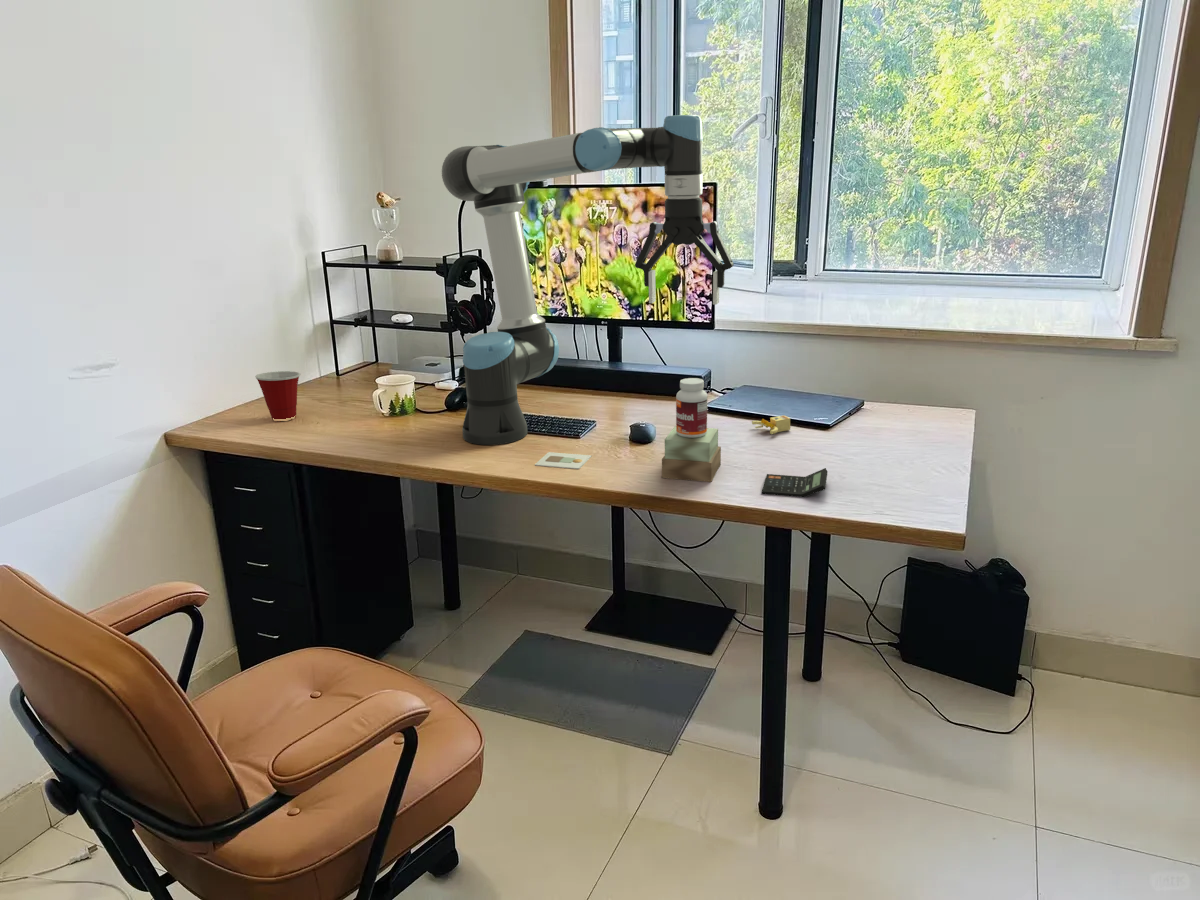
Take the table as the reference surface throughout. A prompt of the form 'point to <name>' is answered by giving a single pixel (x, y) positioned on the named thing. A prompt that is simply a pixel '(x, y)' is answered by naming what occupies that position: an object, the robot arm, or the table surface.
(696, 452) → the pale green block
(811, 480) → the calculator
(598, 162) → the robot arm
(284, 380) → the plastic cup
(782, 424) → the character toy
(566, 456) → the page
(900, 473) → the table surface
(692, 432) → the pill bottle
